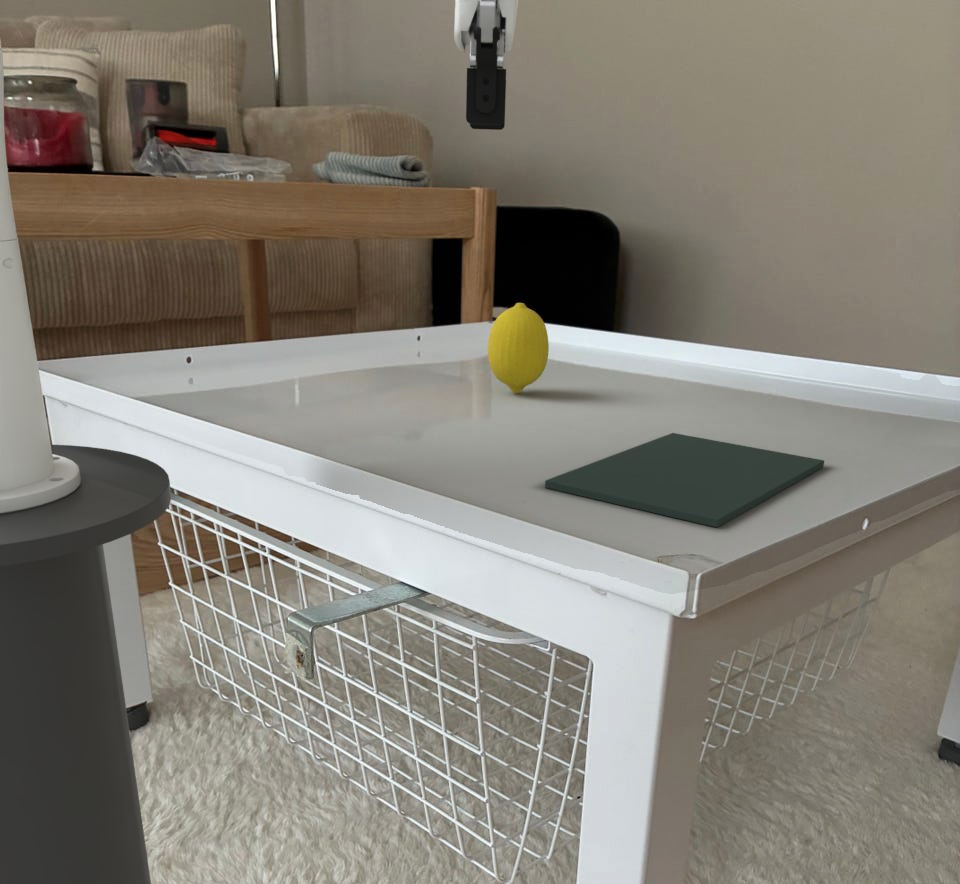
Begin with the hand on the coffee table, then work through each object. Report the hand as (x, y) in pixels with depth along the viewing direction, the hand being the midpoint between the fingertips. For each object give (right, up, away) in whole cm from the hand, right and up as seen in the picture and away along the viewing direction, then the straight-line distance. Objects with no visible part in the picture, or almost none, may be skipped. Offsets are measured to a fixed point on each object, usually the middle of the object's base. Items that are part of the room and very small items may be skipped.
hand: (486, 126), depth 86 cm
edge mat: (+14, -34, -20) cm, 42 cm away
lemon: (+3, -22, +5) cm, 23 cm away
